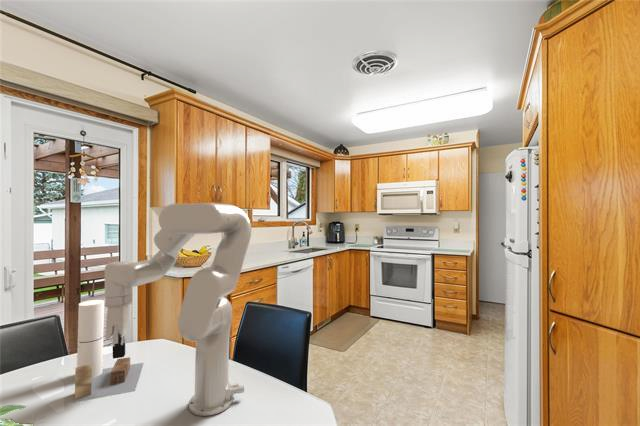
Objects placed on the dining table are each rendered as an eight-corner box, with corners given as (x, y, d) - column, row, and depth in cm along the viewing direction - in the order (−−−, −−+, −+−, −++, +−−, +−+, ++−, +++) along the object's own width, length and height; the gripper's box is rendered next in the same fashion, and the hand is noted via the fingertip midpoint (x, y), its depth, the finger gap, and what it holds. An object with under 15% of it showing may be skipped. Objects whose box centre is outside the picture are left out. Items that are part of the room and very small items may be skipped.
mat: (143, 363, 114) (143, 362, 114) (134, 391, 96) (135, 390, 96) (92, 371, 108) (92, 370, 108) (72, 403, 90) (72, 402, 90)
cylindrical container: (88, 381, 101) (90, 306, 101) (71, 378, 102) (73, 304, 103) (107, 370, 108) (109, 300, 108) (91, 368, 109) (92, 299, 110)
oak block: (90, 388, 97) (91, 363, 97) (91, 394, 94) (91, 368, 94) (74, 393, 94) (75, 367, 94) (74, 399, 91) (75, 372, 91)
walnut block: (124, 382, 101) (130, 368, 110) (124, 370, 101) (130, 357, 110) (110, 384, 99) (117, 370, 108) (110, 372, 99) (117, 359, 108)
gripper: (110, 296, 104) (110, 350, 103) (98, 307, 90) (98, 369, 90) (135, 293, 107) (136, 346, 106) (128, 304, 93) (128, 364, 93)
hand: (119, 356), depth 98 cm, fingers closed
